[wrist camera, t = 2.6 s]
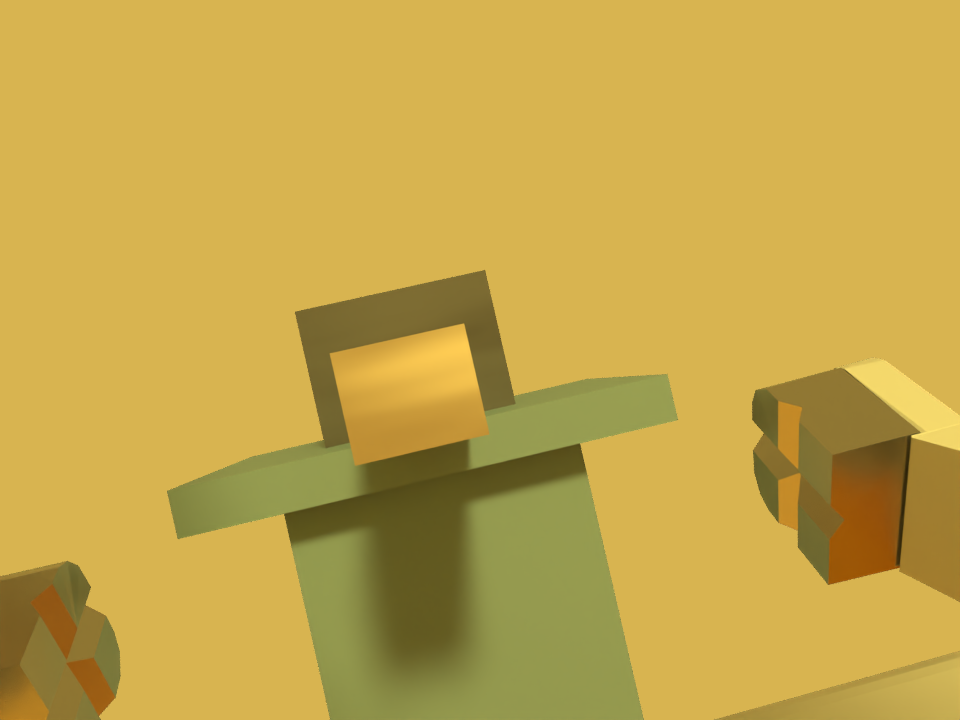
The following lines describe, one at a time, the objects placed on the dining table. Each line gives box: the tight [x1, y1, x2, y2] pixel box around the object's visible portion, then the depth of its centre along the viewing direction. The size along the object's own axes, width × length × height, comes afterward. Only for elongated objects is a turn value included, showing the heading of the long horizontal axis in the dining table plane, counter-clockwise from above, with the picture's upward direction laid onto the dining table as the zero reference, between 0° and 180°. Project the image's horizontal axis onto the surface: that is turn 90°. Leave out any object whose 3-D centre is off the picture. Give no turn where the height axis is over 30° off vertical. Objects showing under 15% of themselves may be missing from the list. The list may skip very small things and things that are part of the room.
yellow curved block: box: [295, 270, 516, 466], centre depth 27 cm, size 18×7×5 cm, turn 5°
